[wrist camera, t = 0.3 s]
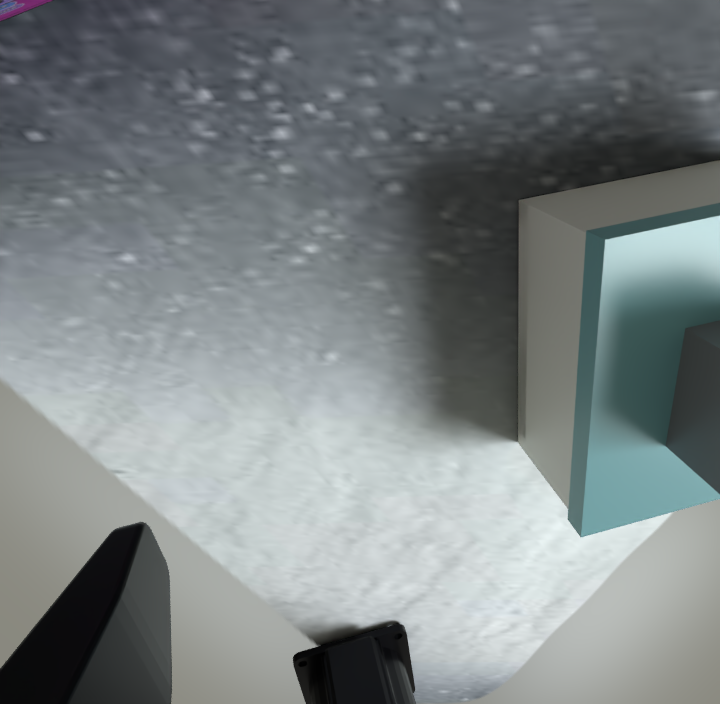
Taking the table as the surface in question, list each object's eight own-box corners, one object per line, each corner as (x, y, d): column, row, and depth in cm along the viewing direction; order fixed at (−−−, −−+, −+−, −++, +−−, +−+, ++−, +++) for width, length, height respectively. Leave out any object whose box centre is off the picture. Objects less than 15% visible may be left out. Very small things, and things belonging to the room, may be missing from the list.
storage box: (691, 398, 29) (774, 459, 24) (518, 442, 27) (572, 514, 23) (737, 156, 23) (857, 179, 18) (518, 199, 22) (591, 235, 17)
